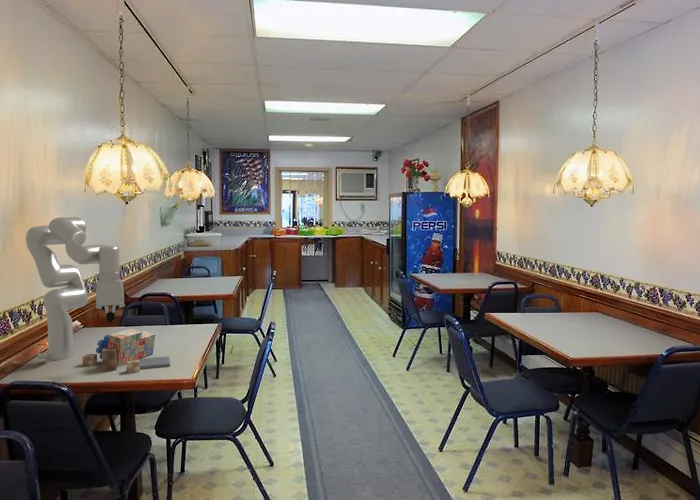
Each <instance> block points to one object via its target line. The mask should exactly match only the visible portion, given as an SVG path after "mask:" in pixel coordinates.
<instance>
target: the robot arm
mask: <svg viewBox="0 0 700 500" xmlns="http://www.w3.org/2000/svg"><path fill="white" fill-rule="evenodd" d="M86 232H87V224H86V222H85V221H84V220H83V219H82V218H80V217H76V216H73V217H69V216H67V217H66V216H65V217H63V216H62V217H55V218H53V219H52V220H50V222H49V223H48V225H37V226H33V227H31V228H29V229H28V230H27V232H26V235H25V244H26V247H27V249H28V251H29V253H30V255H31V257H32V258H33V260H34V262H35V266H36V269H37V271H38V275H39V278H40V281H41V283H42V285H43V287H45V288H47V289H48V288H51V289H52V290H49V291H48V292H46V293H45V295H44V296H43V303H44V308H45V312H46V321H47V340H48V341H47V343H48V346H47V347H48V351H47V352H40V353H37V356H36V357H37V359H38V358H39V359H45V360H44V363H45V364H48V363H50V362H52V361H63V360H68V359H72V358H73V357H74V335H73V334H74V333H73V329H74V327H73V319H72V317H71V315H70V314H69V312H68V311H69V310H73V309H80V308H82V307H84V306H86V305H87V304H88V300H89V299H88V291H87V289H86V285H85V283H84V280H83V276H82V274H81V272H80V269H78V267H77V266H76V265H73V264H60V263H59V260H58V257H57V255H56V253H55V252H54V250H52V249H51V248H50V247H48V246H53V245H54V246H56V245H65V252H66V255H67V256H68V258H70V259H71V260H73V261H74V262H75V263H77V264H79V265H83V266H84V265H95V264H98V271H99V272H98V274H97V273H96V274H95V276H94V277H95V279H98V280H97V281H96V288H95V309H99V310H102V311H104V312H105V313H106V314H105V315H106V321H108V324H112V323H114V321H115V320H116V315H115V314H116V312H117V311H118V309H121V308H124V307H126V304H125V293H124V284H123V281H122V279H121V273H120V272H121V270H120V269H121V268H120V249H119V247H118V246H116V245H115V246H114V245H106V244H90V245H84V244H85V242H86V239H87V234H86ZM53 288H55V289H53ZM111 306H112V309H111V311H110V308H109V307H111Z"/></svg>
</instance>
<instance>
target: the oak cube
mask: <svg viewBox="0 0 700 500" xmlns="http://www.w3.org/2000/svg"><path fill="white" fill-rule="evenodd" d="M97 364H98V353H87V354H85V355H82V367H93V366H95V365H97Z"/></svg>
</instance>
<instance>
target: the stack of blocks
mask: <svg viewBox="0 0 700 500" xmlns="http://www.w3.org/2000/svg"><path fill="white" fill-rule="evenodd" d="M108 335H109V342H108V348H115V347H116V353H117V367H120V366H123V365H126V361H132V360H139V359H143V358H146V357H147V356H151V355H153V354H154V347H155V339H156V334H155V333H152V332H149V331H145V330H142V331H140V330H137V329H133V328H128V329H124V330H121V331H118V332H115V333H110V334H108Z"/></svg>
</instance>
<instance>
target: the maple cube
mask: <svg viewBox="0 0 700 500" xmlns="http://www.w3.org/2000/svg"><path fill="white" fill-rule="evenodd" d="M125 366H126V372H127V373H128V374H135V373H139V372H141V371H140V370H141V369H140V364H139V359H137V360H132V361H126V364H125Z"/></svg>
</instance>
